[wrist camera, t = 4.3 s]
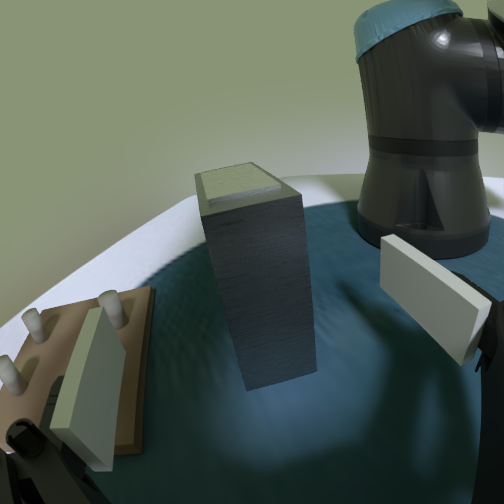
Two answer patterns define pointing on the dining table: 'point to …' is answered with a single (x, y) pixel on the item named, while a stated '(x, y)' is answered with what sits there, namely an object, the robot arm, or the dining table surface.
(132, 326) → the pin tray
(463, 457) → the dining table surface
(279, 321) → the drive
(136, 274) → the dining table surface
